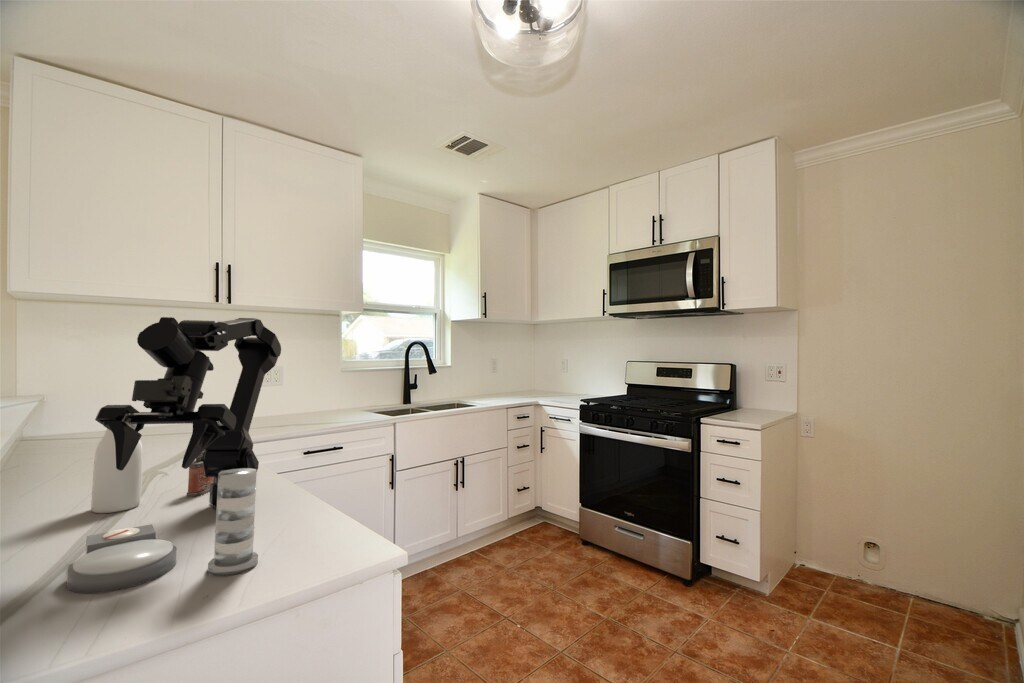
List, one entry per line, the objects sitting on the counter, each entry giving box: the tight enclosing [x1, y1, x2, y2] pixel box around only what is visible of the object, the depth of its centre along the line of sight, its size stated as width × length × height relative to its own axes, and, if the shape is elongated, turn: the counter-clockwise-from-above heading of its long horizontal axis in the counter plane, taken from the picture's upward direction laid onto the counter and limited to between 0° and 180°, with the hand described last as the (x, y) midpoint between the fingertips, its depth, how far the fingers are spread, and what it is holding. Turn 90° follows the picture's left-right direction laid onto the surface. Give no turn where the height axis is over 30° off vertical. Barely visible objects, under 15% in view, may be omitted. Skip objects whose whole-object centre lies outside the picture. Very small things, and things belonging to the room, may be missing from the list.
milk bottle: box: [90, 428, 144, 514], centre depth 95 cm, size 8×8×20 cm
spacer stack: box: [207, 468, 259, 577], centre depth 69 cm, size 6×6×14 cm
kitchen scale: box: [66, 523, 178, 594], centre depth 68 cm, size 12×16×4 cm
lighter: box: [186, 450, 214, 499], centre depth 106 cm, size 8×3×10 cm, turn 5°
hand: (152, 468), depth 72 cm, fingers open, 9 cm apart
